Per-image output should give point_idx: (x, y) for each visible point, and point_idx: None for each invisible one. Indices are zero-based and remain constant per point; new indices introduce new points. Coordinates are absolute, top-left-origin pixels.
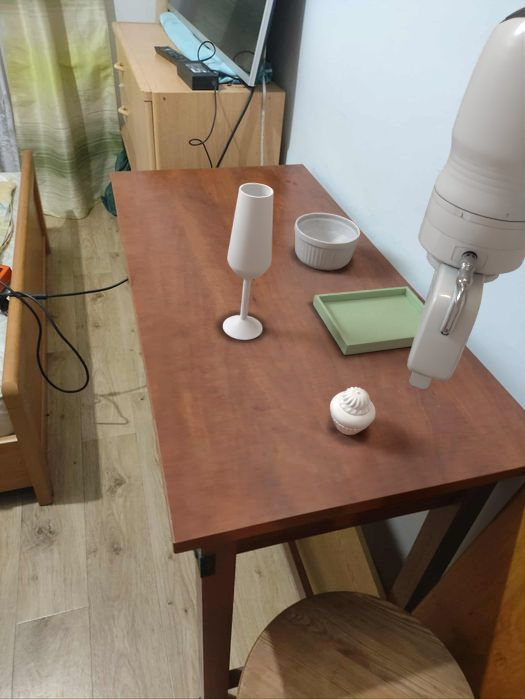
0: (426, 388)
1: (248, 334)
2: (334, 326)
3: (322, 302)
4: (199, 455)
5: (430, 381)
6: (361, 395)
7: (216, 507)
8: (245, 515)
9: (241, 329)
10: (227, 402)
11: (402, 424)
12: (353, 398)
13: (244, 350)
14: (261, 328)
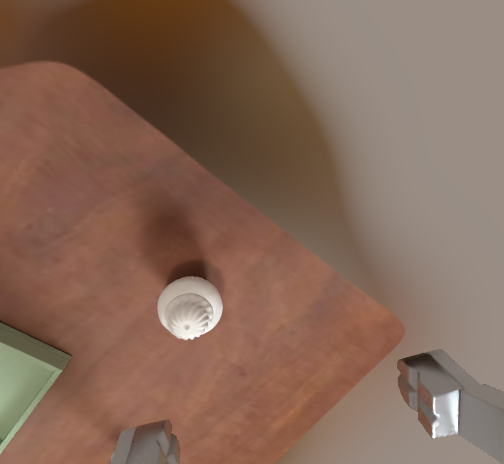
0: (441, 350)
1: None
2: (38, 402)
3: (2, 442)
4: (332, 372)
5: (462, 368)
6: (188, 322)
7: (372, 327)
8: (365, 304)
9: None
10: (256, 396)
11: (132, 237)
12: (200, 326)
13: None
14: None
